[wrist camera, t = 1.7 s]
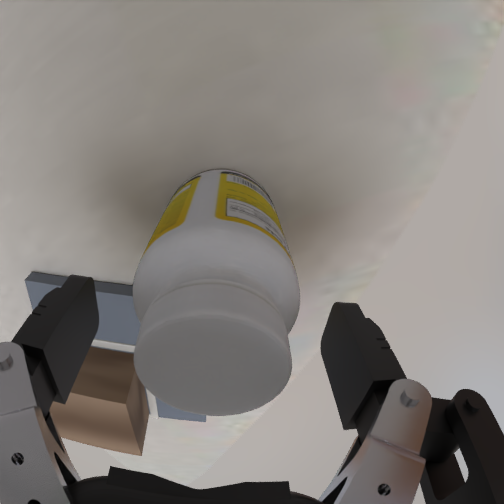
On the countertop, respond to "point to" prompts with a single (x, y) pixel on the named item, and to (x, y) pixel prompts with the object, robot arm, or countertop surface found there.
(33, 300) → the mat
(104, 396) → the walnut block
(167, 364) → the supplement bottle
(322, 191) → the countertop surface
